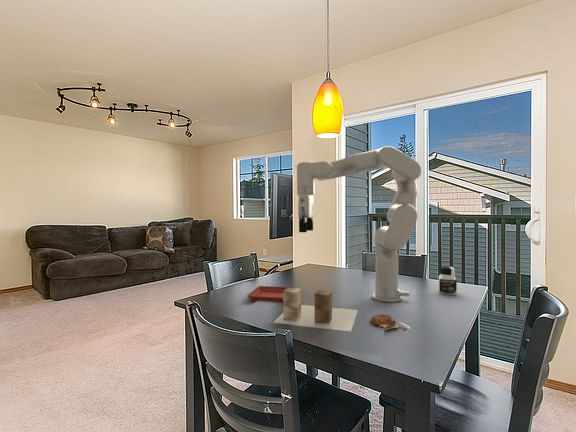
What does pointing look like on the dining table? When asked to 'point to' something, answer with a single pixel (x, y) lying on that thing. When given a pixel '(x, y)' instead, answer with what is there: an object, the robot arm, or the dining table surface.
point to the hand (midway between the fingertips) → (306, 231)
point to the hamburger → (385, 322)
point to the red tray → (267, 293)
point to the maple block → (292, 304)
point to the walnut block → (323, 307)
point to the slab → (340, 321)
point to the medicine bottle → (447, 281)
